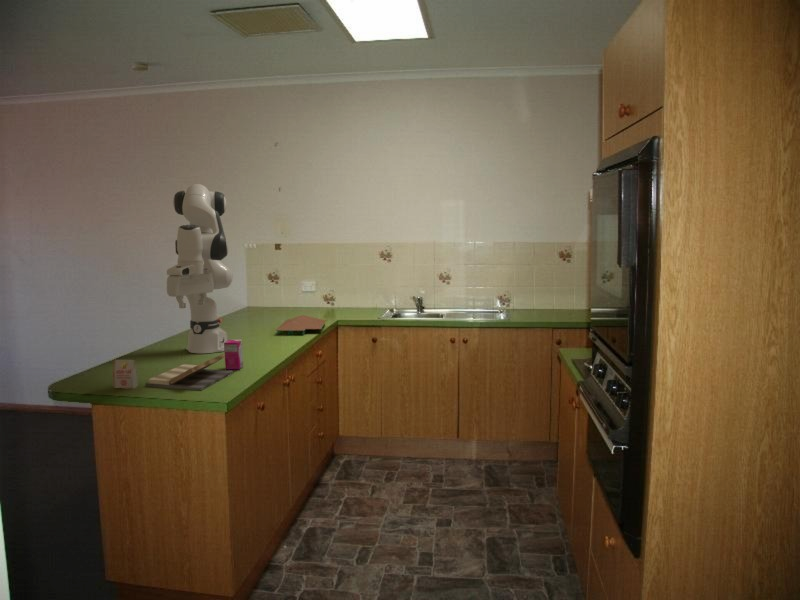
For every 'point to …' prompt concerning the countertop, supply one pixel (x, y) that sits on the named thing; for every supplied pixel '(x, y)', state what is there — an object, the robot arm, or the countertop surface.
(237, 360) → the supplement box
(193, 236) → the robot arm
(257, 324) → the countertop surface
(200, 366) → the walnut plank
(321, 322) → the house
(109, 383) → the countertop surface
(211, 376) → the floor board
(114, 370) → the white food carton
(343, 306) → the countertop surface
